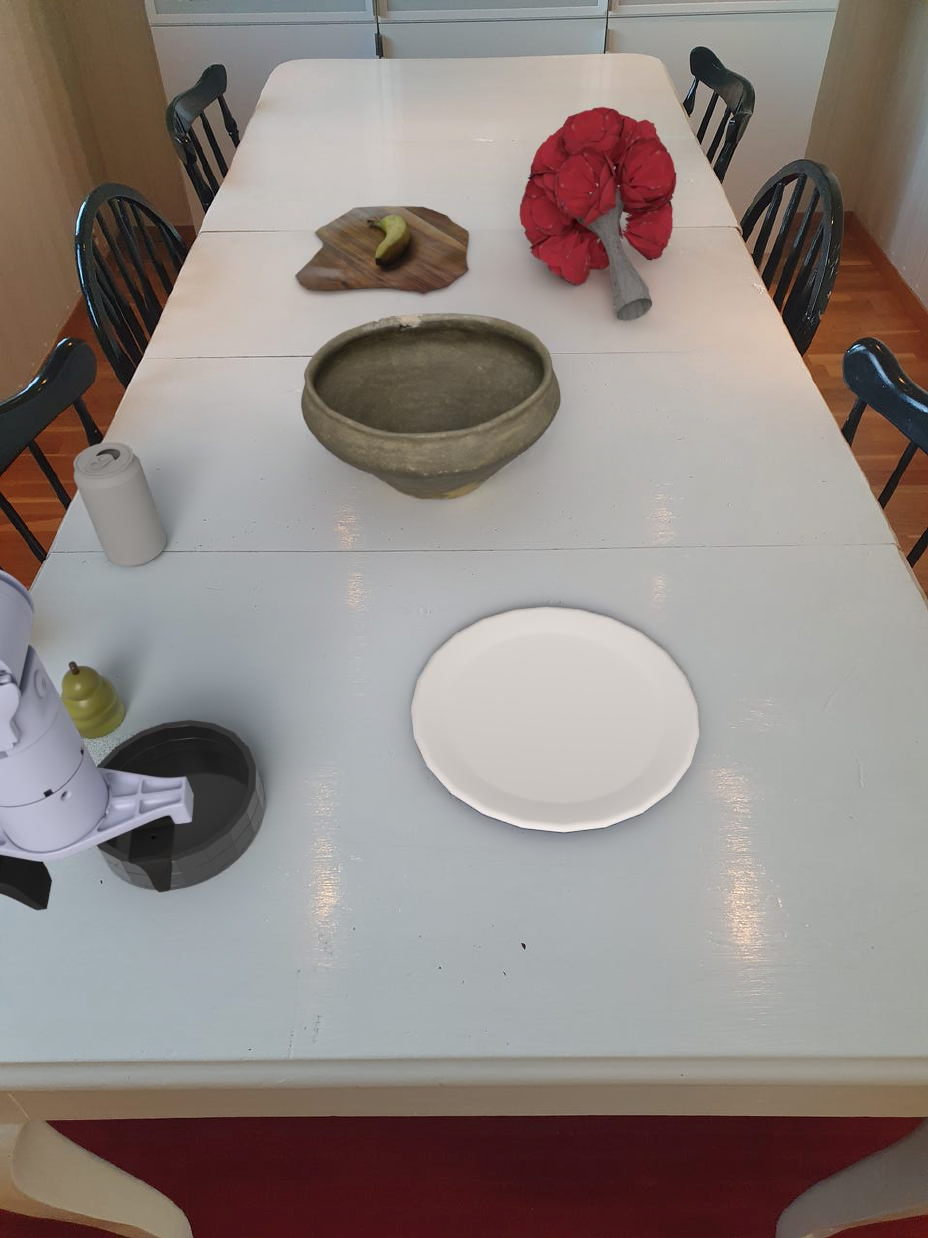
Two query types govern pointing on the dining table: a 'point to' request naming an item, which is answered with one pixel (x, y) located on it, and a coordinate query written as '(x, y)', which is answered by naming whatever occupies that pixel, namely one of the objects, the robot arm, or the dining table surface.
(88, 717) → the pear
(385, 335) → the bowl
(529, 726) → the plate
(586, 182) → the bouquet
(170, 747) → the pan
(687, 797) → the dining table surface
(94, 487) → the beverage can
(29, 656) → the robot arm
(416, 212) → the cutting board
